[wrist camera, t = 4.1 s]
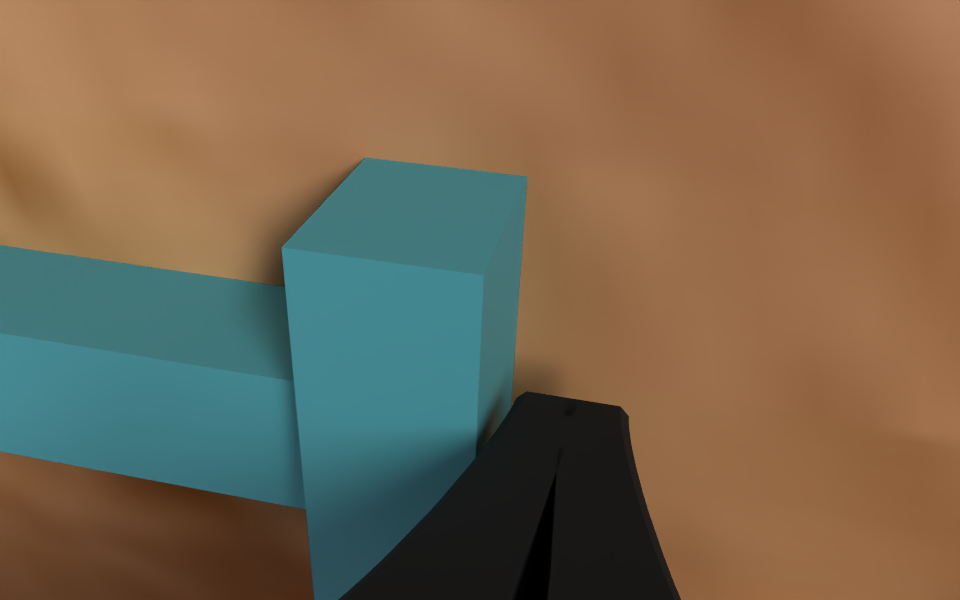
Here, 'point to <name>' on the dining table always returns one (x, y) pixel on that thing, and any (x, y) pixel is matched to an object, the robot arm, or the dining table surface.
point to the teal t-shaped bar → (286, 360)
